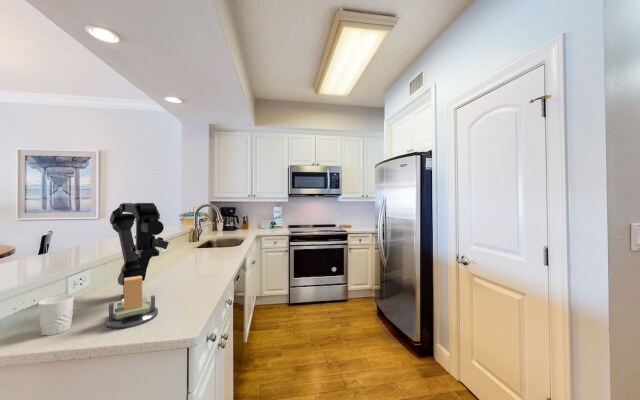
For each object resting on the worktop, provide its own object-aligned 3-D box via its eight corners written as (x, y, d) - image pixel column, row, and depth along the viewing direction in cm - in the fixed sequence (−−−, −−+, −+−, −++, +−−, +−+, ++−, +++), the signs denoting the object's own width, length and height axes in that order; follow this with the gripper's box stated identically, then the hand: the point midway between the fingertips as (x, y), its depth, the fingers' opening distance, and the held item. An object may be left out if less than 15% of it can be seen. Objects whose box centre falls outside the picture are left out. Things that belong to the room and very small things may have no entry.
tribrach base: (106, 316, 90) (106, 298, 90) (156, 306, 99) (156, 289, 99) (103, 334, 78) (103, 313, 78) (159, 320, 87) (160, 301, 87)
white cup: (55, 324, 84) (55, 295, 84) (80, 323, 85) (80, 294, 85) (30, 337, 76) (30, 304, 76) (57, 336, 77) (58, 303, 77)
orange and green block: (115, 306, 91) (115, 275, 92) (148, 300, 97) (148, 271, 98) (113, 319, 80) (114, 284, 81) (151, 310, 86) (151, 278, 87)
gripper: (173, 233, 102) (173, 271, 101) (160, 230, 114) (160, 264, 114) (140, 236, 94) (140, 277, 93) (130, 232, 106) (130, 268, 106)
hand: (144, 271), depth 102 cm, fingers closed
